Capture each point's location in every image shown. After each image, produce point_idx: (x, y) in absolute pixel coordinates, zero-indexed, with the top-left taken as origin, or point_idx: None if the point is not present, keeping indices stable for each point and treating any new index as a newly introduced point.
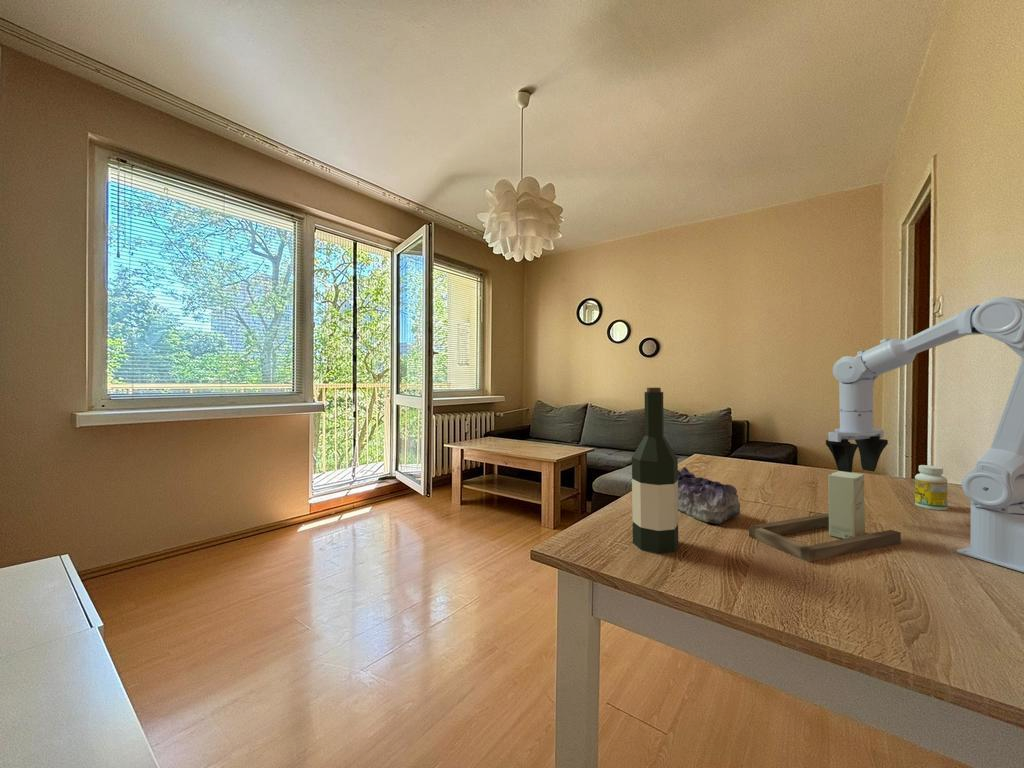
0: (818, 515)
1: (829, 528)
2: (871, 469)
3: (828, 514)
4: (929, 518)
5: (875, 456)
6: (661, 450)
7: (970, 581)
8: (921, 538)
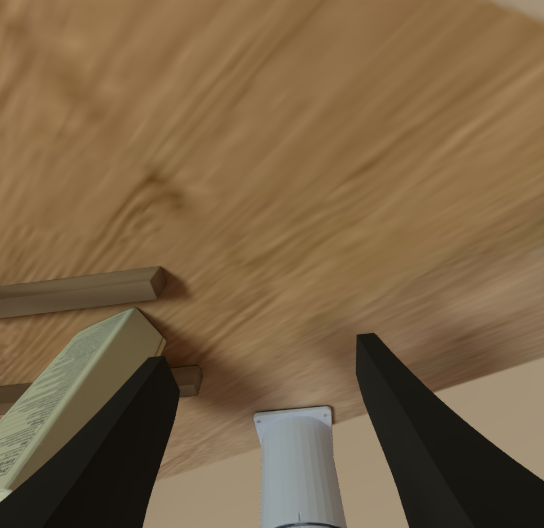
0: (80, 293)
1: (67, 345)
2: (359, 377)
3: (118, 292)
4: (444, 294)
5: (398, 483)
6: None
7: (173, 452)
8: (268, 368)
